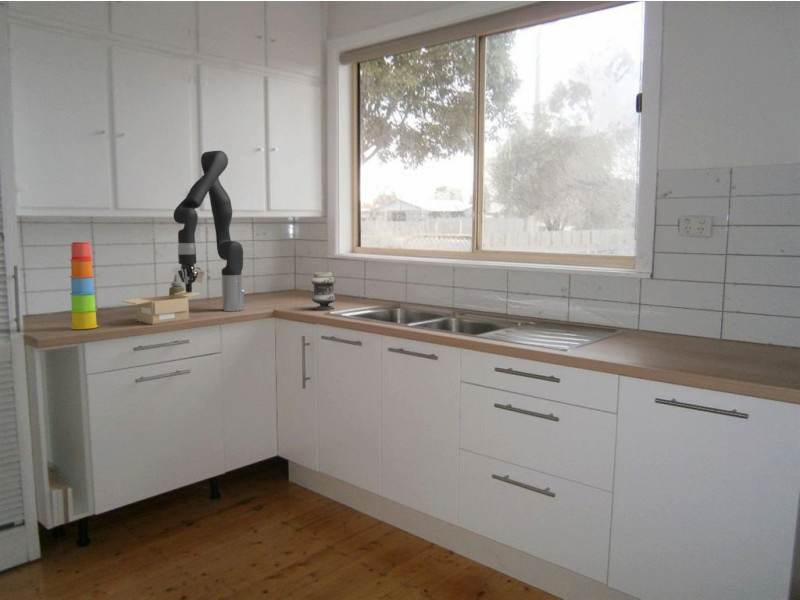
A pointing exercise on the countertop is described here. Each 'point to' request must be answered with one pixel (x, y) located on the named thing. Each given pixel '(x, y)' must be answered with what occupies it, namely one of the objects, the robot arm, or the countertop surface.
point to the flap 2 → (186, 294)
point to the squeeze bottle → (176, 287)
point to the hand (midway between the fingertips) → (188, 292)
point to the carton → (163, 310)
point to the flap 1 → (136, 301)
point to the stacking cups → (82, 287)
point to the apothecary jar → (323, 290)
